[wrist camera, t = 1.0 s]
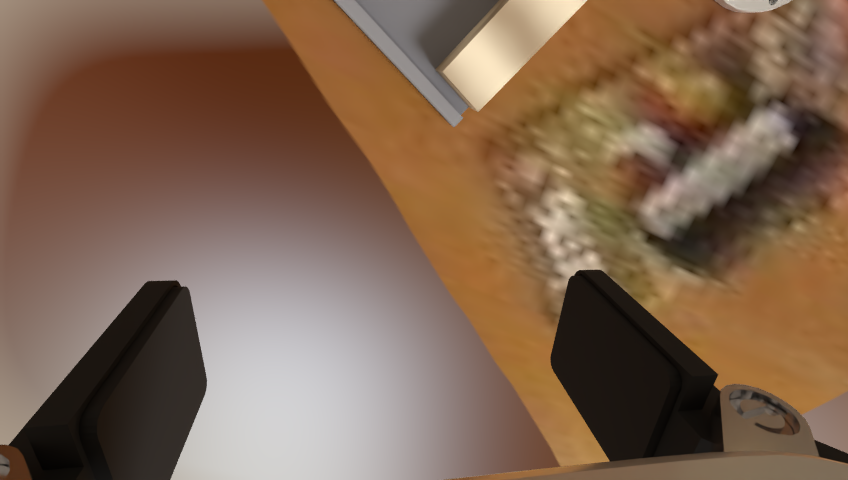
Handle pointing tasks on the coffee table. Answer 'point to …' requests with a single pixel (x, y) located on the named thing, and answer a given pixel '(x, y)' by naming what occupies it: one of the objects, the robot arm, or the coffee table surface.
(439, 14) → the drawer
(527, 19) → the ledge
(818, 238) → the coffee table surface
